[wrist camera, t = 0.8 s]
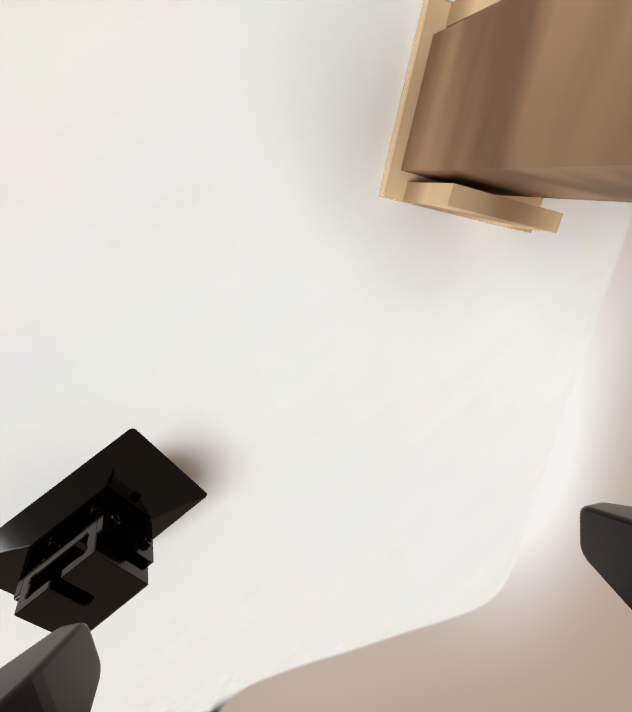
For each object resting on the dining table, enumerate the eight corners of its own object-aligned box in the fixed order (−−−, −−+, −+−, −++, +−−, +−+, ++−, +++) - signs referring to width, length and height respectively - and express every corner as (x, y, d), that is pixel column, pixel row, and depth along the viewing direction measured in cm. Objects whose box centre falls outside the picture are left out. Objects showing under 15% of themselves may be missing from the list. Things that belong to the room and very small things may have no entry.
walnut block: (400, 170, 18) (740, 162, 8) (433, 34, 17) (908, -196, 6) (488, 194, 20) (850, 214, 10) (524, 75, 19) (999, -50, 8)
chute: (378, 196, 19) (426, 200, 16) (424, -4, 17) (490, -45, 13) (525, 231, 23) (586, 240, 19) (579, 71, 20) (658, 53, 17)
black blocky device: (148, 387, 19) (151, 443, 15) (245, 478, 23) (268, 542, 19) (-90, 569, 18) (-153, 679, 14) (51, 633, 22) (32, 733, 18)
